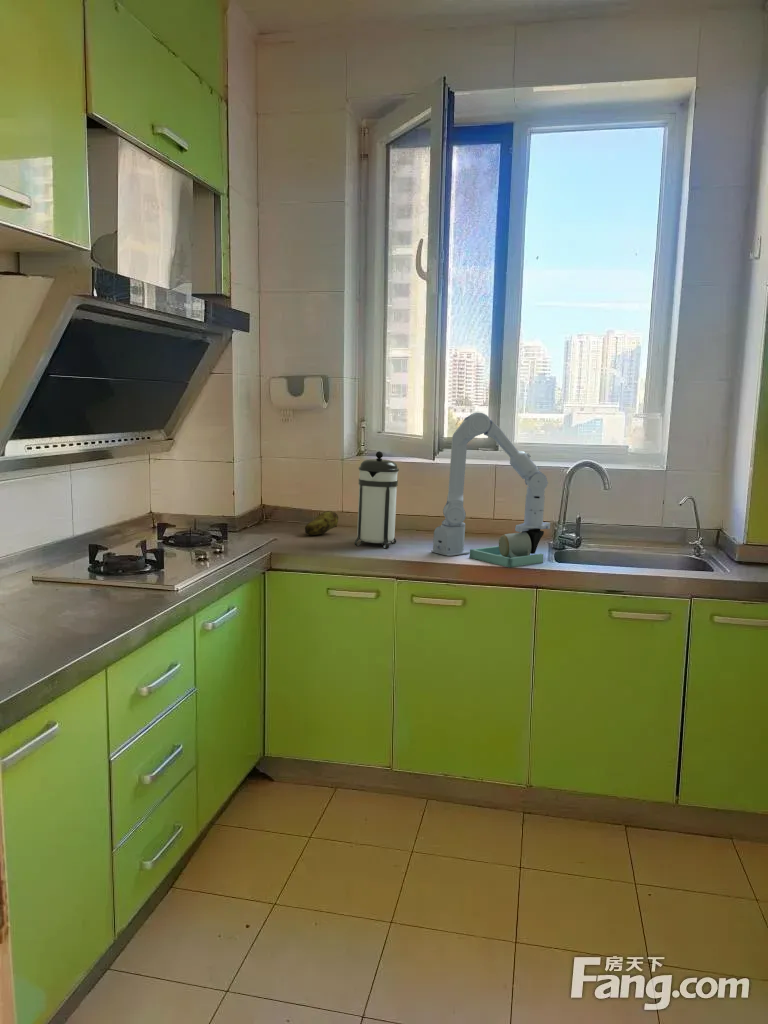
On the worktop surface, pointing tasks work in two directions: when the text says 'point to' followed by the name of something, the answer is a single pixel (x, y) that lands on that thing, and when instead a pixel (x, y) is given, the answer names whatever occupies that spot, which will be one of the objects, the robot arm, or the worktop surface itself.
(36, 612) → the worktop surface
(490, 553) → the tray
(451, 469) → the robot arm
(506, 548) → the ceramic mug
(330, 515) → the olive green rounded lump
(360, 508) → the coffee press
